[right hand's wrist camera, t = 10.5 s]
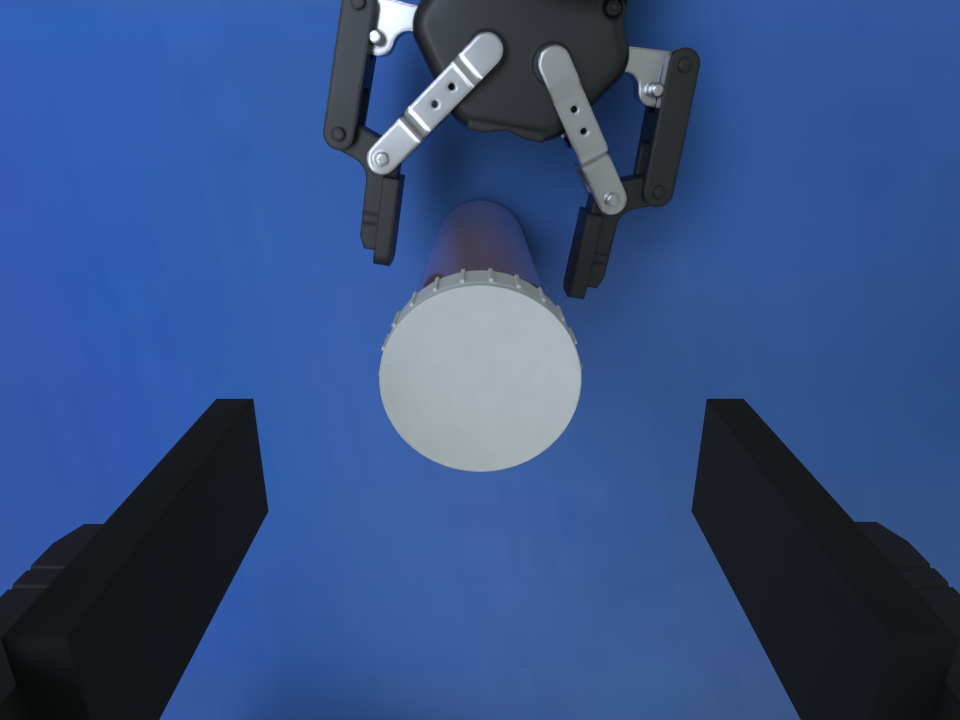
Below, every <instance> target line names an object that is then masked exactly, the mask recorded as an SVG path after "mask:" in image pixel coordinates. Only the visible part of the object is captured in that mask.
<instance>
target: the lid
mask: <svg viewBox="0 0 960 720" xmlns="http://www.w3.org/2000/svg"><path fill="white" fill-rule="evenodd" d="M392 327H393V328H392V331H391V333H390V334H389V333H388V334H387V337H386V339H385V341H384V344H383V346H382V350H381V351H384V352H383V355H382V359H381V365H380V370H379V373H378V374H379V384H380V392H381V397H382V401H383V405H384V408H385V410H386V412H387V415H388V417H389V419H390V421H391V422H392V424H393V426H394V427H395V429H396V430H397V431H398V433H399V434H400V435H401V437H402V438H403V439H404V440H405V441H406V442H407V443H408V444H409V445H410V446H411V447H413V448H414V449H415V450H417V451H418V452H419V453H421V454H422V455H424V456H425V457H427V458H429V459H431V460H432V461H435V462H437V463H439V464H442V465H444V466H448V467H451V468H454V469H459V470H465V471H477V472H483V471H496V470H501V469H506V468H510V467H513V466H517V465H519V464H521V463H524V462H526V461H528V460H530V459H532V458H534V457H535V456H537V455H539V454H540V453H541V452H543V451H544V450H546V449H547V448H548V447H549V446H550V445H551V444H552V443H553V442H555V441H556V440H557V439H558V437H559V436H560V435H561V434H562V432H563V431H564V430H565V429H566V427H567V425H568V424H569V422H570V420H571V419H572V417H573V414H574V412H575V410H576V407H577V404H578V400H579V397H580V390H581V369H582V365H581V362H580V360H579V356H578V353H577V350H576V347H575V345H576V344H577V341H576V338H575V336H574V334H573V331H572V329H571V327H569V328H568V327H567V324H566V322H565V318H564V316H563V313H562V311H561V308H560V306H559V305H557V306H555V305H554V304H553V302H552V301H551V300H550V299H549V298H548V297H547V296H546V295H545V294H544V293H543V290H542V288H541V287H538V289H537V288H536V287H534V286H533V285H531V284H530V283H528V282H526V281H524V280H522V279H520V278H519V275H517V274H515V276H512V275H509V274H505V273H500V272H495V271H493V270H492V268H488V271H484V270H477V271H466V272H465V269H461V272H460V273H455V274H452V275H449V276H446V277H443V278H441V279H440V278H439V277H437V278H435V281H434V282H433V283H431V284H430V285H428V286H427V287H425V288H423V289H422V290H421V291H420V292H417V291H415V292H414V293H413V296H412V298H411V300H410V301H409V302H408V303H407V304H406V306H405V307H404V308H403V310H402V311H399V310H398V312H397V314H396V316H395V319H394V321H393V324H392Z"/></svg>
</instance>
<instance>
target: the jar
mask: <svg viewBox="0 0 960 720" xmlns="http://www.w3.org/2000/svg"><path fill="white" fill-rule="evenodd" d="M488 268H492V270H493V271H495V272H500V273H505V274H509V275H512V276H515V274H517V275H519V278H520V279H522V280H524V281H526V282H528V283H530V284H531V285H533V286H534V287H536V288H537V289H538V287H541V288H542V285H541V283H540V280H539V277H538V274H537V271H536V268H535V265H534V262H533V259H532V256H531V253H530V251H529V248H528V245H527V242H526V239H525V236H524V233H523V230H522V228H521V225H520V223H519V222H518V220H517V219H516V217H515V216H514V215H513V214H512V213H511V212H510V211H509V210H508V209H506V208H505V207H503V206H501V205H499V204H497V203H494V202H491V201H486V200H474V201H469V202H466V203H463V204H461V205H459V206H457V207H456V208H454V209H453V210H452V211H450V212H449V213H448V214H447V215H446V217H445V218H444V219H443V221H442V222H441V224H440V226H439V228H438V231H437V234H436V237H435V240H434V243H433V246H432V249H431V252H430V255H429V258H428V261H427V264H426V267H425V270H424V272H423V275H422V278H421V281H420V284H419V287H418V290H417V292H420V291H421V290H422V289H423V288H425V287H427V286H428V285H430V284H431V283H433V282H434V281H435V278H437V277H439V278H440V279H441V278H443V277H446V276H449V275H452V274H455V273H460V272H461V269H465V272H466V271H477V270H484V271H488ZM542 290H543V288H542ZM543 293H544V291H543Z"/></svg>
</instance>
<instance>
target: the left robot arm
mask: <svg viewBox="0 0 960 720" xmlns="http://www.w3.org/2000/svg"><path fill="white" fill-rule="evenodd" d="M627 4H628V0H421V2H420V3H419V5H418V6H416V5H412V4H409V3H405V2H401V1H397V0H342V2H341V9H340V17H339V24H338V31H337V38H336V45H335V52H334V59H333V66H332V73H331V81H330V88H329V95H328V102H327V109H326V116H325V123H324V130H323V135H324V139H325V141H326V143H327V144H328V145H329V146H330V147H331V148H333V149H336V150H340V151H342V152H344V153H346V154H347V155H349V156H351V157H352V158H354V159H356V160H357V161H359V162H360V163H361V165H362V166H363V167H364V170H365V172H366V187H365V196H364V206H363V215H362V225H361V234H360V236H361V240H362V243H363V247H364V248H366V249H372V250H374V257H373V263H374V264H380V265H386V266H390V265H391V263H392V261H393V259H394V256H395V250H396V243H397V235H398V227H399V219H400V211H401V203H402V195H403V187H404V179H405V175H403V174H400V170H401V163H402V162H403V161H404V160H405V159H406V158H407V157H408V156H409V155H410V154H411V153H412V152H413V151H414V150H415V149H416V148H417V147H418V146H419V145H420V144H421V143H422V142H423V141H424V140H425V139H426V138H427V137H428V136H429V135H430V134H431V133H432V132H433V131H434V130H435V129H436V128H437V127H438V126H439V125H440V124H441V123H442V122H443V121H444V120H445V119H446V118H447V117H448V116H449V115H450V114H451V115H452V116H453V117H454V118H455V119H456V120H457V121H458V122H459V123H460V124H462V125H463V126H465V127H467V129H470V130H476V131H481V132H495V131H509V132H511V133H513V134H515V135H517V136H519V137H521V138H523V139H526V140H531V141H537V142H542V143H544V141H549V140H552V139H555V138H557V137H559V136H560V137H561V140H562V142H563V144H564V146H565V148H566V151H567V153H568V155H569V157H570V159H571V161H572V162H573V164H574V166H575V168H576V170H577V173H578V175H579V177H580V179H581V181H582V184H583V186H584V188H585V190H586V192H587V195H588V200H587V204H586V207H581V206H580V210H579V214H578V219H577V223H576V228H575V232H574V237H573V241H572V246H571V250H570V255H569V259H568V264H567V268H566V273H565V277H564V285H563V288H564V291H565V293H566V295H567V297H573V298H579V299H584V297H585V294H586V290H587V287H593V288H597V287H598V285H599V284H600V283H601V281H602V280H603V278H604V275H605V271H606V267H607V263H608V259H609V254H610V251H611V246H612V242H613V238H614V234H615V230H616V226H617V223H618V220H619V219H620V217H621V216H622V215H623V214H624V213H625V212H627V211H629V210H631V209H636V208H642V207H647V206H653V207H661V206H664V205H666V204H667V203H668V202H669V201H670V200H671V198H672V196H673V192H674V187H675V182H676V177H677V172H678V168H679V163H680V158H681V153H682V148H683V144H684V139H685V134H686V129H687V125H688V120H689V115H690V110H691V105H692V101H693V96H694V91H695V86H696V81H697V77H698V72H699V67H700V59H699V56H698V54H697V53H696V52H695V51H694V50H693V49H691V48H678V49H674V50H671V51H664V50H655V49H647V48H639V47H631V46H629V45H628V41H627V37H626V32H625V14H626V9H627ZM408 33H413V35H414V38H415V41H416V43H417V45H418V47H419V49H420V51H421V53H422V55H423V58H424V60H425V62H426V64H427V66H428V68H429V70H430V72H431V74H432V76H433V79H434V81H433V82H432V83H431V84H430V85H429V86H428V87H427V88H426V90H425V91H424V92H423V93H422V94H421V95H420V96H419V97H418V98H417V99H416V100H415V101H414V102H413V103H412V104H411V105H410V106H409V107H408V108H407V109H406V110H405V112H404V113H403V114H402V115H401V117H400V118H399V119H398V120H397V121H396V122H395V123H394V124H393V125H392V126H391V127H390V128H389V129H388V130H387V131H386V132H385V133H384V134H383V136H382V135H380V134H378V133H376V132H375V131H373V130H371V129H370V128H368V127H366V126H365V124H366V118H367V111H368V105H369V99H370V93H371V87H372V81H373V74H374V68H375V62H376V56H377V57H386V56H388V55H390V54H391V53H392V52H393V51H394V49H395V46H396V43H397V41H398V40H399V38H400V37H401V36H403V35H405V34H408ZM623 73H624V74H626V75H628V76H629V77H630V78H631V80H632V82H633V87H634V89H633V94H634V98H635V100H636V101H637V103H638V104H640V105H642V106H646V108H645V113H644V119H643V124H642V129H641V135H640V140H639V145H638V151H637V156H636V162H635V167H634V172H633V175H629V176H624V177H619V176H618V174H617V172H616V169H615V167H614V165H613V162H612V160H611V158H610V155H609V150H608V147H607V144H606V142H605V139H604V137H603V135H602V132H601V130H600V128H599V125H598V123H597V121H596V118H595V116H594V114H593V111H592V109H591V106H592V105H593V104H594V103H595V102H596V101H597V100H598V99H599V98H601V97H602V96H603V95H604V94H605V93H606V92H607V91H608V90H609V89H610V88H611V87H612V86H613V85H614V84H615V83H616V82H617V81H618V80H619V79H620V78H621V76H622V75H623ZM437 103H438V106H437Z"/></svg>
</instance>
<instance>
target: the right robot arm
mask: <svg viewBox="0 0 960 720" xmlns="http://www.w3.org/2000/svg"><path fill="white" fill-rule="evenodd" d="M267 513H268V505H267V498H266V490H265V483H264V476H263V468H262V461H261V454H260V446H259V439H258V431H257V424H256V417H255V409H254V402H253V399H216V400H215V401H214V402H213V403H212V404H211V406H210V407H209V408H208V409H207V410H206V411H205V412H204V413H203V414H202V416H201V417H200V418H199V419H198V420H197V421H196V422H195V423H194V424H193V426H192V427H191V428H190V429H189V430H188V431H187V432H186V433H185V434H184V436H183V437H182V438H181V439H180V440H179V441H178V442H177V443H176V444H175V446H174V447H173V448H172V449H171V450H170V451H169V452H168V453H167V454H166V456H165V457H164V458H163V459H162V460H161V461H160V462H159V463H158V464H157V465H156V467H155V468H154V469H153V470H152V471H151V472H150V473H149V474H148V475H147V477H146V478H145V479H144V480H143V481H142V482H141V483H140V484H139V485H138V487H137V488H136V489H135V490H134V491H133V492H132V493H131V494H130V495H129V497H128V498H127V499H126V500H125V501H124V502H123V503H122V504H121V505H120V507H119V508H118V509H117V510H116V511H115V512H114V513H113V514H112V515H111V517H110V518H109V519H108V520H107V521H106V522H105V523H104V524H84V525H82V526H81V527H79V528H77V529H76V530H74V531H72V532H71V533H69V534H68V535H66V536H64V537H63V538H61V539H59V540H58V541H56V542H55V543H53V544H52V545H51V546H50V547H49V548H48V549H47V550H46V551H45V552H44V553H43V554H42V555H41V556H40V557H39V558H38V559H37V560H36V561H35V562H34V563H33V564H32V565H31V570H30V571H26V572H25V573H24V574H23V575H22V576H21V577H20V578H19V579H18V580H17V581H16V582H15V583H14V584H13V587H12V590H7V591H6V592H5V593H4V594H3V595H2V596H1V597H0V720H159V719H160V717H161V715H162V713H163V711H164V709H165V708H166V706H167V704H168V702H169V700H170V698H171V696H172V694H173V692H174V690H175V688H176V687H177V685H178V683H179V681H180V679H181V677H182V675H183V673H184V671H185V669H186V667H187V665H188V664H189V662H190V660H191V658H192V656H193V654H194V652H195V650H196V648H197V646H198V644H199V643H200V641H201V639H202V637H203V635H204V633H205V631H206V629H207V627H208V625H209V623H210V622H211V620H212V618H213V616H214V614H215V612H216V610H217V608H218V606H219V604H220V602H221V601H222V599H223V597H224V595H225V593H226V591H227V589H228V587H229V585H230V583H231V581H232V580H233V578H234V576H235V574H236V572H237V570H238V568H239V566H240V564H241V562H242V560H243V558H244V557H245V555H246V553H247V551H248V549H249V547H250V545H251V543H252V541H253V539H254V537H255V536H256V534H257V532H258V530H259V528H260V526H261V524H262V522H263V520H264V518H265V516H266V515H267ZM692 513H693V515H694V516H695V518H696V520H697V522H698V524H699V526H700V528H701V530H702V532H703V534H704V536H705V537H706V539H707V541H708V543H709V545H710V547H711V549H712V551H713V553H714V555H715V557H716V558H717V560H718V562H719V564H720V566H721V568H722V570H723V572H724V574H725V576H726V578H727V579H728V581H729V583H730V585H731V587H732V589H733V591H734V593H735V595H736V597H737V599H738V601H739V602H740V604H741V606H742V608H743V610H744V612H745V614H746V616H747V618H748V620H749V622H750V623H751V625H752V627H753V629H754V631H755V633H756V635H757V637H758V639H759V641H760V643H761V644H762V646H763V648H764V650H765V652H766V654H767V656H768V658H769V660H770V662H771V664H772V665H773V667H774V669H775V671H776V673H777V675H778V677H779V679H780V681H781V683H782V685H783V687H784V688H785V690H786V692H787V694H788V696H789V698H790V700H791V702H792V704H793V706H794V708H795V709H796V711H797V713H798V715H799V717H800V719H801V720H960V594H959V593H958V592H957V591H956V590H955V589H954V588H949V586H948V582H947V581H946V580H945V579H944V578H943V577H942V576H941V575H940V574H939V573H938V572H937V571H936V570H935V569H934V568H930V564H929V563H928V562H927V561H926V560H925V558H924V557H923V556H922V555H921V554H920V553H919V552H918V551H917V550H916V549H915V548H914V547H913V546H912V545H911V544H910V543H909V542H908V541H906V540H905V539H903V538H901V537H900V536H898V535H897V534H895V533H893V532H892V531H890V530H888V529H887V528H885V527H883V526H882V525H880V524H879V523H877V522H854V521H853V520H852V519H851V518H850V517H849V515H848V514H847V513H846V512H845V511H844V510H843V509H842V508H841V507H840V505H839V504H838V503H837V502H836V501H835V500H834V499H833V498H832V497H831V495H830V494H829V493H828V492H827V491H826V490H825V489H824V488H823V487H822V485H821V484H820V483H819V482H818V481H817V480H816V479H815V478H814V477H813V475H812V474H811V473H810V472H809V471H808V470H807V469H806V468H805V467H804V465H803V464H802V463H801V462H800V461H799V460H798V459H797V458H796V457H795V455H794V454H793V453H792V452H791V451H790V450H789V449H788V448H787V447H786V446H785V444H784V443H783V442H782V441H781V440H780V439H779V438H778V437H777V436H776V434H775V433H774V432H773V431H772V430H771V429H770V428H769V427H768V426H767V424H766V423H765V422H764V421H763V420H762V419H761V418H760V417H759V416H758V414H757V413H756V412H755V411H754V410H753V409H752V408H751V407H750V406H749V404H748V403H747V402H746V401H745V400H744V399H707V402H706V410H705V417H704V424H703V432H702V439H701V446H700V454H699V461H698V468H697V476H696V483H695V490H694V498H693V505H692Z"/></svg>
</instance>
